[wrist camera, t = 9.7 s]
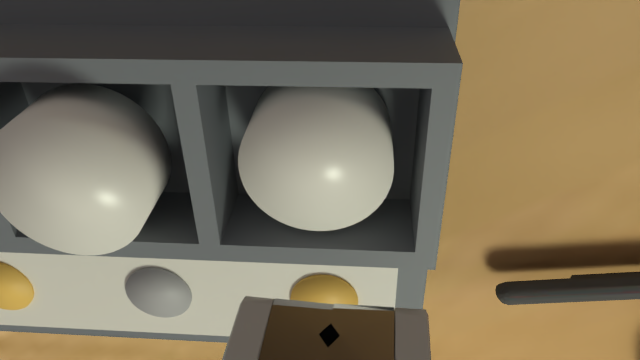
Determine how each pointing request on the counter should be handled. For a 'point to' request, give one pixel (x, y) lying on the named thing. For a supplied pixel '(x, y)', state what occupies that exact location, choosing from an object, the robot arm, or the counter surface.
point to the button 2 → (318, 155)
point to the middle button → (82, 169)
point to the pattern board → (231, 157)
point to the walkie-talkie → (571, 289)
